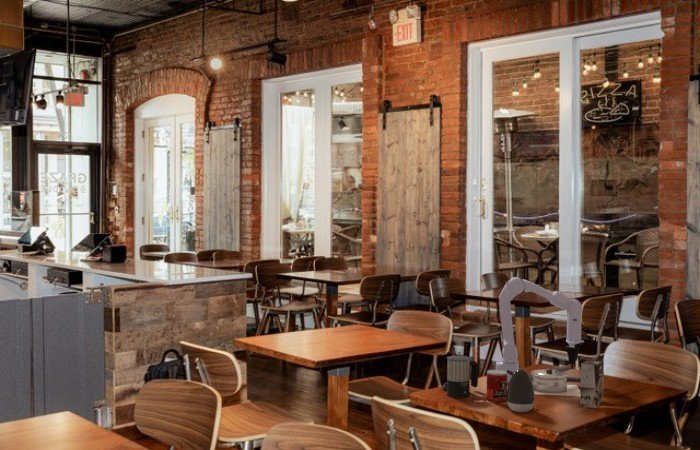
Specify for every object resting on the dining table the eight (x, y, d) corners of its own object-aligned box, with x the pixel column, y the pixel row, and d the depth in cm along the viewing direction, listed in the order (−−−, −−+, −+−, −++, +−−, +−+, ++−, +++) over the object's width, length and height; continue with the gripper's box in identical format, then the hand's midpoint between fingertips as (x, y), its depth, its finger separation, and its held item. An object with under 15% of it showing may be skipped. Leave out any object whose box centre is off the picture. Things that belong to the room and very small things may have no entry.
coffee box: (596, 408, 303) (597, 365, 303) (579, 406, 307) (580, 363, 306) (603, 403, 311) (604, 361, 311) (586, 401, 315) (587, 359, 314)
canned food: (494, 403, 309) (495, 374, 309) (482, 399, 316) (482, 370, 316) (511, 401, 312) (511, 372, 312) (498, 397, 320) (498, 368, 319)
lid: (556, 380, 319) (556, 374, 319) (523, 375, 329) (523, 369, 329) (584, 372, 336) (584, 366, 336) (552, 367, 346) (552, 361, 346)
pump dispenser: (508, 405, 306) (509, 365, 305) (536, 409, 302) (537, 367, 301) (502, 412, 297) (503, 370, 296) (531, 415, 293) (532, 372, 292)
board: (530, 396, 321) (530, 393, 321) (526, 385, 341) (527, 382, 341) (583, 399, 318) (583, 396, 318) (576, 387, 338) (576, 385, 338)
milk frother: (460, 399, 315) (461, 360, 315) (427, 392, 326) (428, 355, 325) (481, 393, 326) (482, 356, 325) (449, 386, 336) (449, 350, 336)
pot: (524, 391, 324) (525, 378, 324) (522, 384, 338) (523, 370, 338) (590, 395, 321) (590, 380, 320) (585, 387, 334) (585, 373, 334)
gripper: (582, 332, 331) (581, 366, 331) (585, 327, 344) (584, 360, 345) (564, 331, 333) (563, 364, 334) (568, 326, 347) (567, 358, 347)
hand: (573, 362), depth 339 cm, fingers open, 7 cm apart
